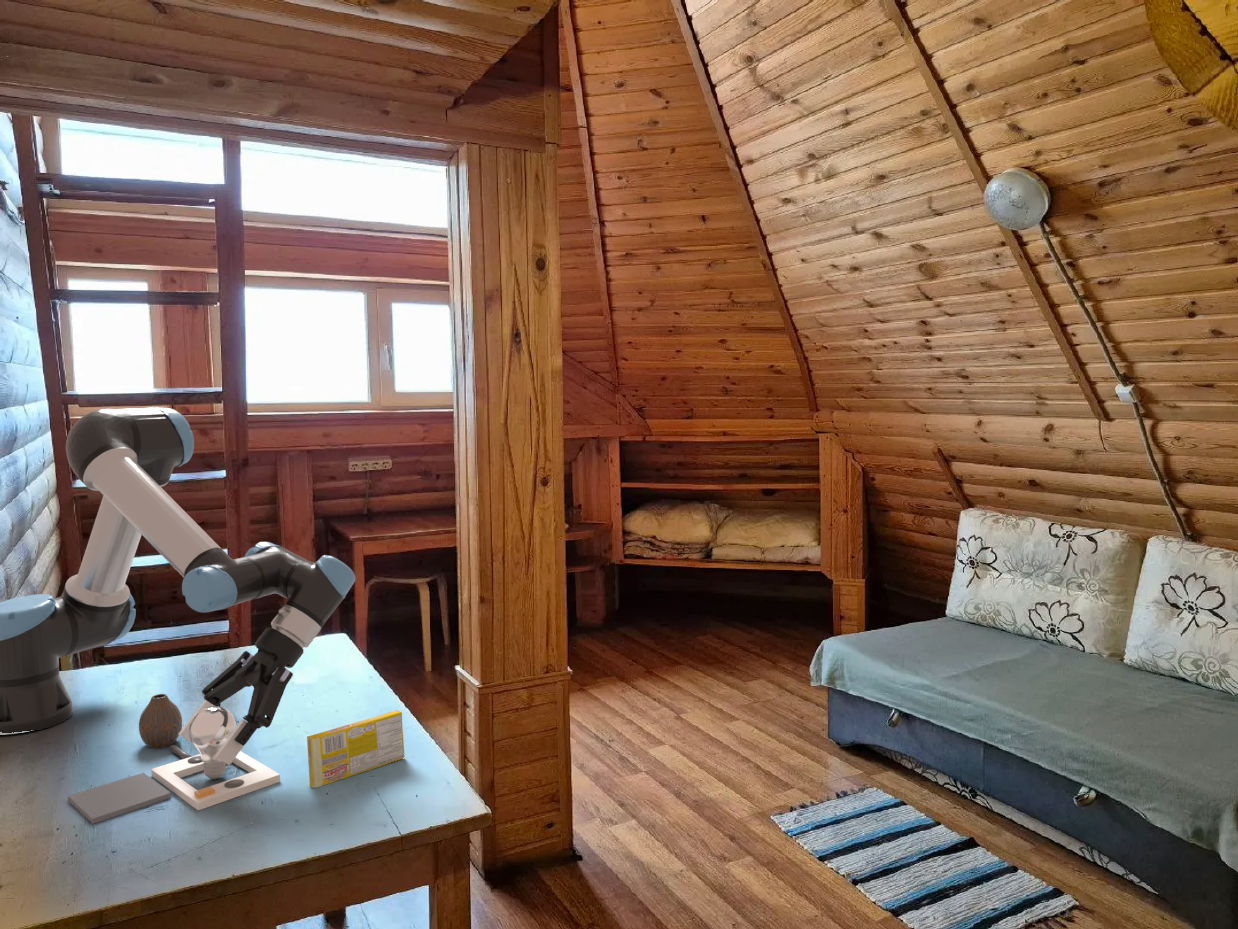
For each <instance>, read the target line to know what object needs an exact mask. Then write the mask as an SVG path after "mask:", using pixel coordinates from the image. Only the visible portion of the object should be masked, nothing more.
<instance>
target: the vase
mask: <svg viewBox="0 0 1238 929" xmlns="http://www.w3.org/2000/svg"><path fill="white" fill-rule="evenodd" d="M182 716H183V715H182V713H181V710H180V708H178V706H177V705H176V704H175V703H174V702H173V701H172V700H171V699H170V698H169V697H168V695H167V694H165V693H158V694H157V693H156V694H155V695H152V696H151V698H150V701H149V702H148V704H147V705H146V706H145V708H144V709H143V711H142V712H141V714H140V716H139V721H138V732H139V735H140V738H141V740H142V742H143V743H144V744H145V745H146V746H148V747H149V748H154V749H156V748H157V749H158V748H164V747H168V746H172V745H173V744H174V743H175V742H176V741H177V739H178V738H179V737H180V735H179V732H180V731H181V730H182V728H183V717H182Z"/></svg>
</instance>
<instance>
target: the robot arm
mask: <svg viewBox="0 0 1238 929" xmlns="http://www.w3.org/2000/svg"><path fill="white" fill-rule="evenodd" d="M194 439H195V438H194V433H193V431H192V429H191V425H190V424H189V422H188V420H187V419H186V418H185V416H183V414H181V413H180V412H179V411H177V410H175V409H173V408H170V407H169V408H168V407H157V406H150V407H143V408H141V407H140V408H139V407H138V408H137V407H135V408H102V409H95V410H93V411H91V412H88V413H86V414H85V415H83V416H81V417H80V418H79V419H78V420H77V421H76V422H74V424H73V425H72V426H71V428H70V430H69V431H68V435H67V437H66V440H65V441H66V442H65V452H66V454H65V455H66V458H67V461H68V464H69V466H70V468H71V470H72V472H73V473H74V474H75V475H76V477H77V479H78V480H79V481H80V482H82V484H83V485H85V487H86V488H87V489H89V490H91V491H94V492H95V491H96V492H100V494H102V499H101V502H100V505H99V508H98V512H97V513H96V514H97V515H96V517H95V521H94V522H93V523H94V524H93V526H92V530H91V533H90V536H89V539H88V542H87V545H86V549H85V551H84V555H83V557H82V561H81V564H80V565H79V566H80V567H79V569H78V572H77V574H75V575H72V576H70V577H69V578H68V579H67V580H66V582H65V585H64V588H63V591H62V594H61V596H58V597H53V595H51V594H45V593H39V594H38V593H36V594H35V593H34V594H28V595H25V596H18V597H13V598H11V599H6V600H3V601H1V602H0V732H2V733H12V732H13V733H14V732H22V731H31V730H38V731H42V730H44V728H45V729H48V728H51V727H54V726H56V725H58V724H61V723H63V722H64V721H66V719H67V720H68V719H70V718H71V717H72V715H73V702H72V699H71V697H70V695H69V693H68V691H67V689H66V687H65V685H64V683H63V680H62V679H61V676H60V663H59V662H60V661H59V659H61V658H64V657H67V656H70V655H75V654H78V653H82V652H85V651H88V650H93V649H95V648H99V647H104V646H107V645H110V644H111V643H114V642H116V641H118V640H121V639H122V638H124V637H125V636H127V634H128V633H129V632H130V630H131V629H132V627H133V625H134V623H135V619H136V611H137V610H136V608H134V606H135V605H136V602H135V600H134V599H135V598H134V597H133V596H132V594H131V591H130V588H129V586H128V585H127V584H126V582H127V579H128V576H129V573H130V570H131V567H132V564H133V560H134V558H135V555H136V552H137V549H138V546H139V543H140V540H141V537H142V536H143V537H144V538H145V540H146V541H148V543H149V544H151V546H152V547H153V548H154V549H155V550H156V551H157V552H158V553H159V554H160V555H161V556H162V558H164V559H165V560H166V561H167V562H168V563H169V565H171V566H172V568H174V570H176V571H177V572H178V573H179V575H181V576H182V578H183V579H182V583H181V592H182V593H181V594H182V595H183V596H184V597H185V603H186V604H187V606H188V607H189V608H191V609H192V610H193V611H195V612H198V613H210V612H214V611H221V610H226V609H228V608H230V607H233V606H235V605H239V604H242V603H245V602H249V601H252V600H256V599H259V598H263V597H266V596H270V595H272V594H273V595H274V594H277V595H279V596H281V597H283V598H285V599H287V601H286V602H285V603H284V606H283V607H281V608H279V610H278V613H277V614H276V616H275V617H274V618H273V619H272V621H270V625H271V627H266V628H265V629H264V631H262V633H261V635H260V636H259V637H258V638H257V640H256V641H255V643H254V646H255V647H256V649H257V652H256V653H255V654H254V655H253V654H252V653H250V652H249V651H248V650H245V651H243V652H242V654H240V656H239V657H238V658H237V659H236V660H235V661H234V662H233V663H232V664H230V665H229V666H228V667H227V668H226V669H225V670H223V672H221V673H220V674H219V675H218V676H217V677H215V679H213V680H212V681H211V682H209V684H207V685H206V686H205V687H203V689H202V690H201V693H202V694H203V699H204V700H203V701H202V702H201V704H200V705H199V707H198V708H197V709H196V710H195V712H194V713H193V714H192V715H191V717H190V718H189V719H188V721H186V722H185V723H186V724H184V726H182V729H181V731H180V732H179V737H182V738H183V739H185V740H187V741H189V742H190V743H192V741H191V739H190V736H189V728H190V724H191V721H192V719H193V718H194V717H195V715H196V714H197V713H198V712H200V711H201V710H203V709H205V708H207V707H211V706H220V707H221V705H222V703H223V702H225V701H226V700H228V699H229V698H230V697H232V696H233V695H235V694H237V693H238V692H240V691H242V690H243V689H244V688H246V687H247V688H248V687H253V690H252V695H251V699H250V702H249V703H250V704H249V707H248V711H247V715H244V716H242V719H241V720H240V721H239V723H238V724H236V728H235V729H234V731H233V732H232V733H231V735H230V736H229V737H228V739H227V740H226V741H225V743H224V744H223V745H222V747H221V748H220V749H219V751H218V752H217V753H216V755H215V757H216V758H218V759H219V760H221V761H223V762H224V763H225V764H226V765H228V766H230V765H231V764H233V762H232V761H233V760H234V759H235V757H236V756H237V754H238V753H239V752H240V751H241V750H242V749H243V748H244V747H245V745H246V744H247V743H248V741H249V740H250V739H251V737H252V736H253V735H254V733H255V732H256V730H258V729H261V728H262V727H264V728H269V727H270V726H271V725H272V722H273V720H274V717H275V715H276V712H277V710H278V707H279V704H280V702H281V700H282V698H283V695H284V693H285V690H286V687H287V685H288V684H289V682H290V681H291V679H292V678H293V676H294V672H292V671H290V670H289V669H292V668H294V666H295V665H296V663H297V662H299V661H298V660H300V658H301V656H302V655H303V654H304V648H305V649H306V648H309V646H310V645H312V644H311V643H312V642H313V641H314V640H315V638H316V637H317V635H318V634H319V633H320V631H321V630H322V628H323V627H324V626H325V623H326V622H327V620H328V619H329V618H330V617H331V615H332V614H333V613H334V612H335V610H336V609H337V608H338V606H339V605H340V604H341V603H342V602H343V600H344V599H346V596H347V594H348V593H349V591H350V589H351V588H352V586H353V585H354V583H355V582H356V574H355V572H354V571H353V570H352V569H351V567H349V566H348V565H347V564H346V563H345V562H343V561H341V560H339V558H337V557H334V556H332V555H327V554H326V555H325V554H324V555H322V556H321V557H320V558H319V559H318V560H317V561H315V562H313V561H311V560H308V559H306V558H305V557H302V556H300V555H299V554H296V553H294V552H292V551H290V550H288V549H287V548H285V547H284V546H281V545H279V544H278V545H277V544H274V543H272V542H269V541H259V542H258V543H256V544H255V545H254V546H253V547H250V549H248V550H247V551H246V553H245V555H244V556H243V557H240V558H234V559H233V558H232V557H231V556H230V555H229V554H228V553H227V552H226V551H225V550H224V549H222V547H220V546H219V544H218V543H217V542H215V540H213V539H212V537H211V536H210V535H209V534H207V532H206V531H205V530H204V529H203V528H202V527H201V526H200V525H198V523H197V522H196V521H195V520H194V519H193V518H192V517H191V515H189V514H188V513H187V512H186V511H185V510H184V509H183V508H182V507H181V506H180V505H179V504H178V503H177V502H176V501H175V500H174V499H173V498H172V496H170V495H169V494H168V493H167V491H165V490H164V489H163V488H162V487H164V486H166V485H167V484H168V483H169V482H170V479H171V476H172V473H173V470H174V468H175V467H177V468H178V467H181V466H183V465H184V464H187V463H188V462H189V461H190V460H191V458H192V457H193V454H194V449H195V440H194Z"/></svg>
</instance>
